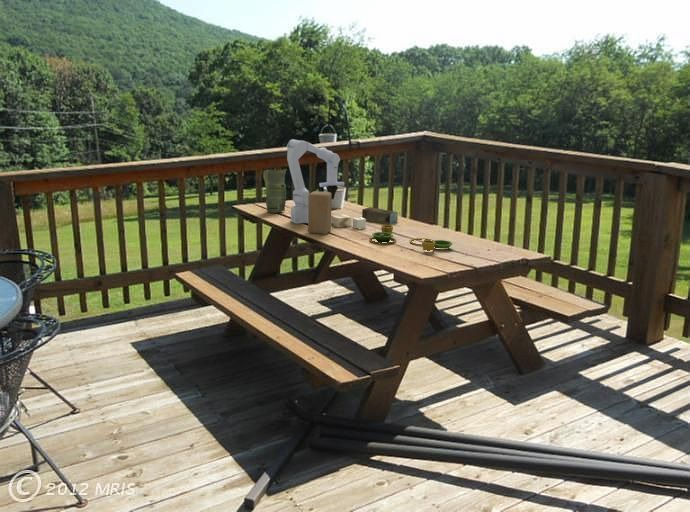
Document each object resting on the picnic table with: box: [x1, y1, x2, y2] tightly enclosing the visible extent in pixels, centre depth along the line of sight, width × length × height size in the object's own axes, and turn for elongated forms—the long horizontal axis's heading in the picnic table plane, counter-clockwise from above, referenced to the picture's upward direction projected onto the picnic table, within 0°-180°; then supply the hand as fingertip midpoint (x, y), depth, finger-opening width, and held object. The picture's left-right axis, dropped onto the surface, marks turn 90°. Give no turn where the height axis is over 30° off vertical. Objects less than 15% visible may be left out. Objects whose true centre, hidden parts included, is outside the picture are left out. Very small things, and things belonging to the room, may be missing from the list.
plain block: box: [331, 214, 353, 228], centre depth 354 cm, size 8×8×5 cm
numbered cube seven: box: [352, 216, 367, 229], centre depth 349 cm, size 5×5×5 cm
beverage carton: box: [361, 206, 399, 225], centre depth 367 cm, size 8×19×7 cm, turn 53°
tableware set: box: [367, 224, 453, 251], centre depth 317 cm, size 41×28×6 cm
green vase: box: [262, 168, 288, 214], centre depth 383 cm, size 11×12×25 cm
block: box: [307, 190, 333, 235], centre depth 335 cm, size 10×10×20 cm
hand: (331, 199), depth 371 cm, fingers closed
